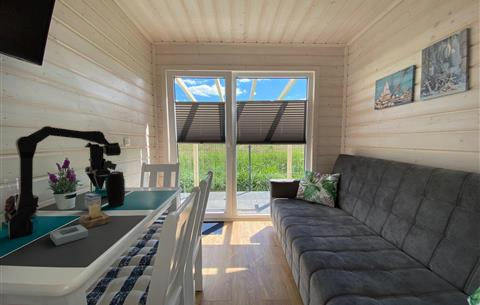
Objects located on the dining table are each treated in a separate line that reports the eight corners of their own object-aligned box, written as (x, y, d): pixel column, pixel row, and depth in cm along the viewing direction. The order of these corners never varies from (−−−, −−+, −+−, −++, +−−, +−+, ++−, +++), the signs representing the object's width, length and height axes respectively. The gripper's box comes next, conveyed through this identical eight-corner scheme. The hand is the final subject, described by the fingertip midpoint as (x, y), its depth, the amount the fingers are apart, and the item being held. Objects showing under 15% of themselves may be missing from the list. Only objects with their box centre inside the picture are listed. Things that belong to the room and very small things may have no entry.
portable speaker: (128, 204, 133) (127, 171, 132) (111, 208, 125) (110, 173, 124) (120, 202, 138) (119, 170, 137) (104, 205, 130) (103, 172, 129)
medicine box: (84, 210, 122) (84, 194, 122) (93, 207, 126) (92, 192, 126) (93, 212, 119) (92, 196, 118) (101, 209, 123) (101, 194, 122)
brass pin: (91, 224, 101) (91, 207, 101) (89, 222, 104) (88, 205, 103) (100, 222, 104) (99, 205, 104) (97, 220, 106) (97, 204, 106)
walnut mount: (86, 228, 97) (85, 222, 97) (78, 223, 103) (78, 217, 103) (110, 222, 104) (110, 216, 104) (102, 217, 111) (102, 212, 111)
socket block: (56, 245, 81) (56, 238, 81) (50, 237, 88) (49, 231, 87) (88, 236, 89) (88, 230, 89) (80, 229, 95) (80, 224, 95)
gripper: (121, 156, 110) (122, 188, 111) (108, 154, 122) (109, 183, 123) (95, 158, 102) (96, 191, 102) (84, 155, 114) (85, 186, 115)
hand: (97, 187), depth 111 cm, fingers open, 9 cm apart
